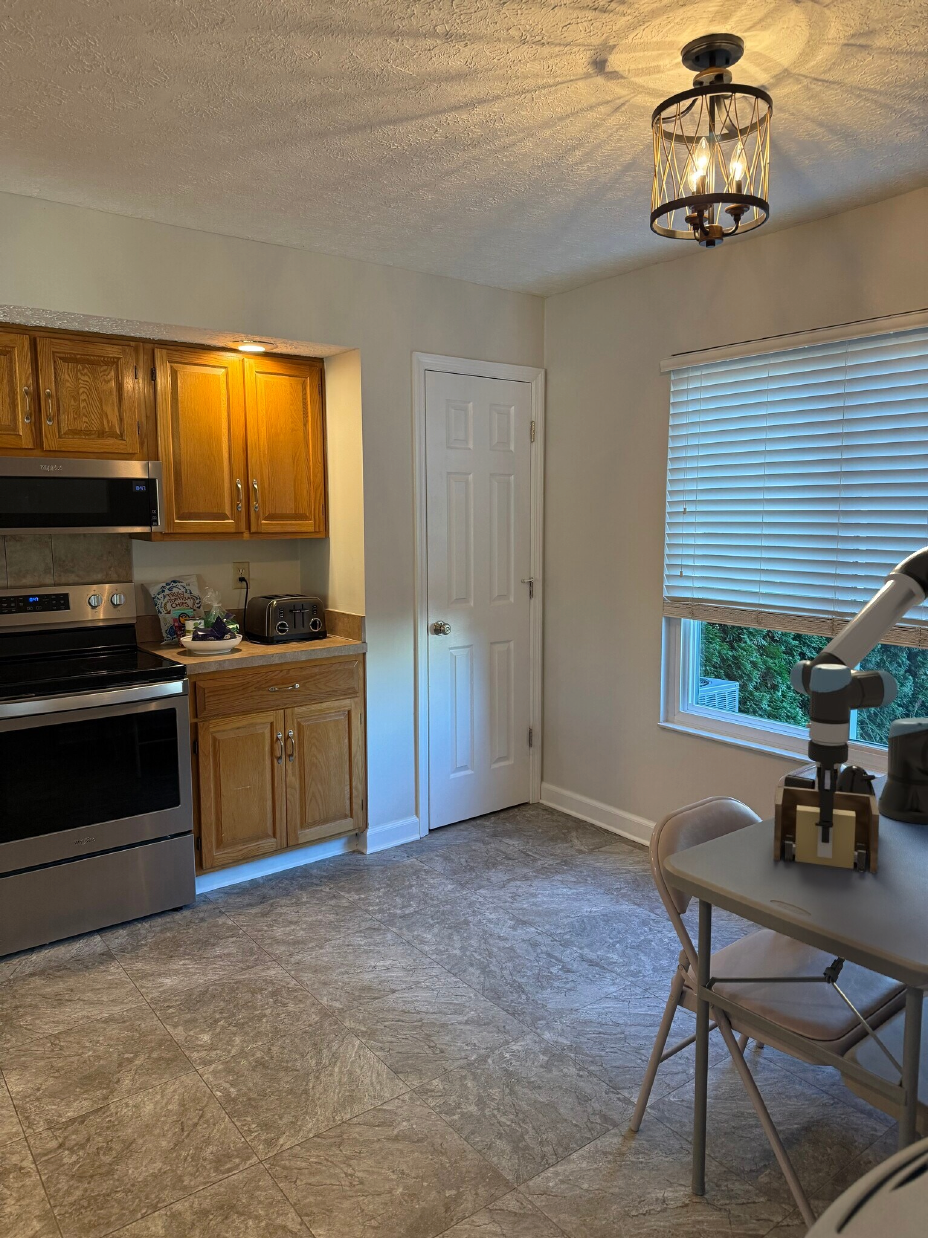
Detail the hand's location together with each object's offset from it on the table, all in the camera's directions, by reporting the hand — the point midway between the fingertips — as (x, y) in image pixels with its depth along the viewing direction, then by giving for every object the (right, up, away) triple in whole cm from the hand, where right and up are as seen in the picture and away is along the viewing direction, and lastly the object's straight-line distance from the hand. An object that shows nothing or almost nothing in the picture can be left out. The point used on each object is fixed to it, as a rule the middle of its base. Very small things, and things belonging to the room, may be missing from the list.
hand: (824, 851), depth 177 cm
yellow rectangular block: (0, -2, 0) cm, 2 cm away
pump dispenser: (+14, 0, +18) cm, 23 cm away
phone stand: (+2, 0, +20) cm, 20 cm away
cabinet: (+2, -2, +4) cm, 5 cm away
